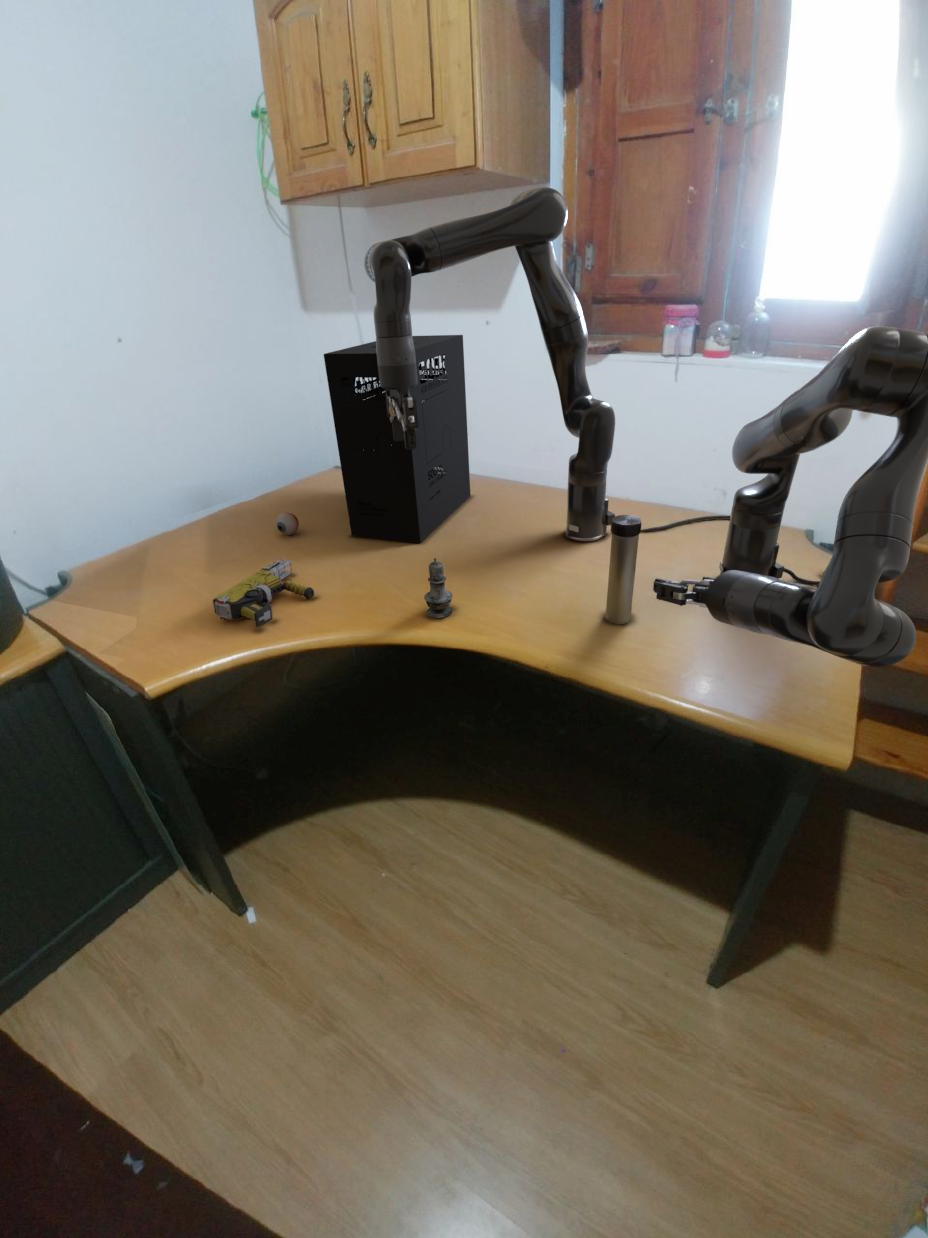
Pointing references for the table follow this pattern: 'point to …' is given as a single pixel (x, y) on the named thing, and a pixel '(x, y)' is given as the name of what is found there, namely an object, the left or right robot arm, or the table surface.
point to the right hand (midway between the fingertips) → (680, 584)
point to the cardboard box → (383, 468)
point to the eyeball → (287, 523)
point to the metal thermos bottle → (621, 578)
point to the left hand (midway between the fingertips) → (404, 444)
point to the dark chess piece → (438, 592)
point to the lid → (626, 525)
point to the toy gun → (258, 594)
